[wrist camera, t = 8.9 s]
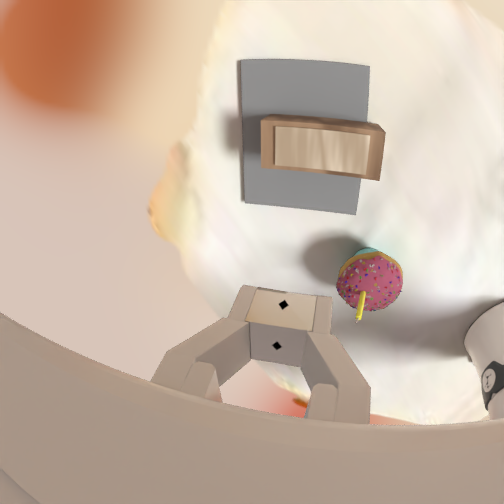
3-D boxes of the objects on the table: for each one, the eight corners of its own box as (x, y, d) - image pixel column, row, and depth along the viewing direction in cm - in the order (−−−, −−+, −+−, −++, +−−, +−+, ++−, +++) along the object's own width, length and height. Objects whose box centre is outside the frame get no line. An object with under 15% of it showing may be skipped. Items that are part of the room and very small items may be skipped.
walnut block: (386, 133, 24) (260, 120, 27) (379, 181, 27) (260, 168, 30) (378, 124, 29) (270, 113, 31) (373, 166, 31) (270, 155, 34)
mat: (369, 66, 26) (369, 66, 25) (355, 213, 36) (355, 215, 35) (242, 59, 29) (240, 59, 28) (246, 201, 39) (244, 203, 38)
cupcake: (332, 280, 42) (326, 344, 33) (345, 229, 37) (346, 289, 28) (387, 290, 41) (395, 355, 31) (406, 241, 36) (425, 303, 26)
